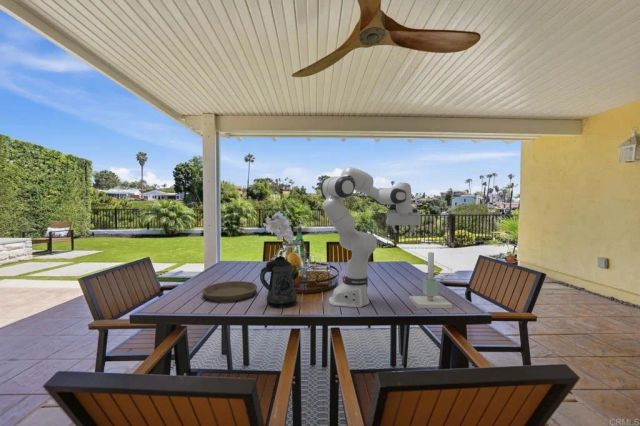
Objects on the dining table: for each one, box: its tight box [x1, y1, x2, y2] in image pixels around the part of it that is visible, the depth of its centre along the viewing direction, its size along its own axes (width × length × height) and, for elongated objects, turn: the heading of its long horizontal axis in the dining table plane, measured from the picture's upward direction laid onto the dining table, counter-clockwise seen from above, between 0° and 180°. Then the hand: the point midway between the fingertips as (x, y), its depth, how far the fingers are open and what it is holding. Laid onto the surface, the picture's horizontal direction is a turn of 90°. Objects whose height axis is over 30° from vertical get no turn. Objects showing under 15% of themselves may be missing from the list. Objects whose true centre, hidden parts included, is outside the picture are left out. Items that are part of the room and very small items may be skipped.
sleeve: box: [422, 277, 440, 296], centre depth 163 cm, size 6×6×8 cm
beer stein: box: [259, 256, 298, 309], centre depth 161 cm, size 16×19×25 cm
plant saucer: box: [201, 280, 258, 303], centre depth 176 cm, size 31×31×5 cm
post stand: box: [409, 251, 453, 309], centre depth 163 cm, size 18×14×28 cm
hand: (403, 232), depth 180 cm, fingers open, 8 cm apart
